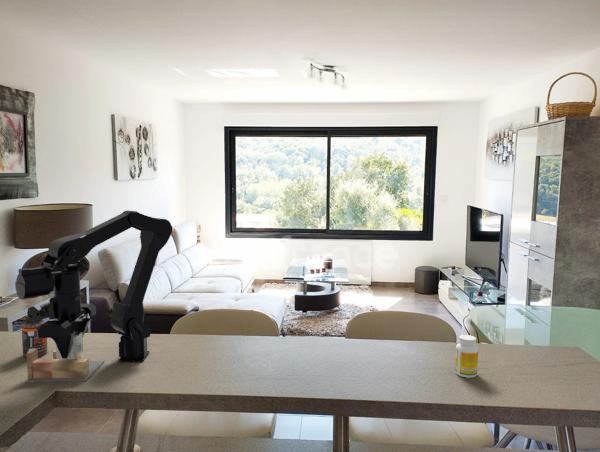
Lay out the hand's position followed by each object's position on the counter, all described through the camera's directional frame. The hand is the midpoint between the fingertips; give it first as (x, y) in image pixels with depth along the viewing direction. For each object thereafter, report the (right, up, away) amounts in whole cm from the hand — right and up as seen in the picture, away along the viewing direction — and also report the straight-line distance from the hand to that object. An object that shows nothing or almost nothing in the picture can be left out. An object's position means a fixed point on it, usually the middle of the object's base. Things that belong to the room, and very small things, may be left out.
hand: (70, 353), depth 112 cm
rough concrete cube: (0, 0, 0) cm, 0 cm away
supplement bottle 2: (+98, -7, +4) cm, 99 cm away
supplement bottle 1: (-17, -5, +15) cm, 24 cm away
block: (-3, -5, +4) cm, 7 cm away
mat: (-3, -6, +4) cm, 8 cm away
